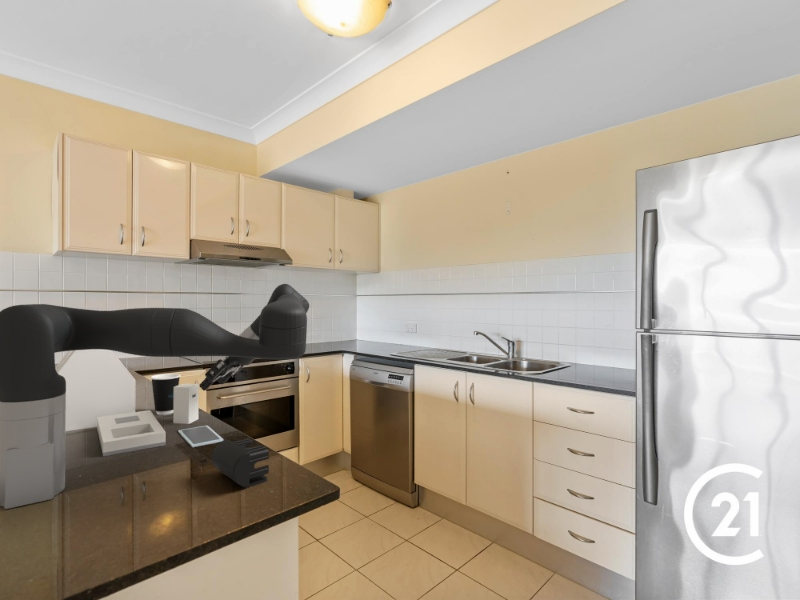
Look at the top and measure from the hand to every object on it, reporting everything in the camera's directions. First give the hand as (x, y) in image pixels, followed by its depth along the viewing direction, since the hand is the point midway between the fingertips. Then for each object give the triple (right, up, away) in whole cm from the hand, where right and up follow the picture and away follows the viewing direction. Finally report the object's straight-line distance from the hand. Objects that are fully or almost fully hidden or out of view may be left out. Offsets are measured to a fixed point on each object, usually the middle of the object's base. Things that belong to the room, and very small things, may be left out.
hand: (211, 385), depth 118 cm
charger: (-7, -10, 0) cm, 12 cm away
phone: (+3, -11, -13) cm, 17 cm away
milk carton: (-33, -10, 0) cm, 35 cm away
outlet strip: (-14, -10, -13) cm, 22 cm away
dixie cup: (-17, -10, +8) cm, 22 cm away
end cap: (+22, -11, -37) cm, 44 cm away
